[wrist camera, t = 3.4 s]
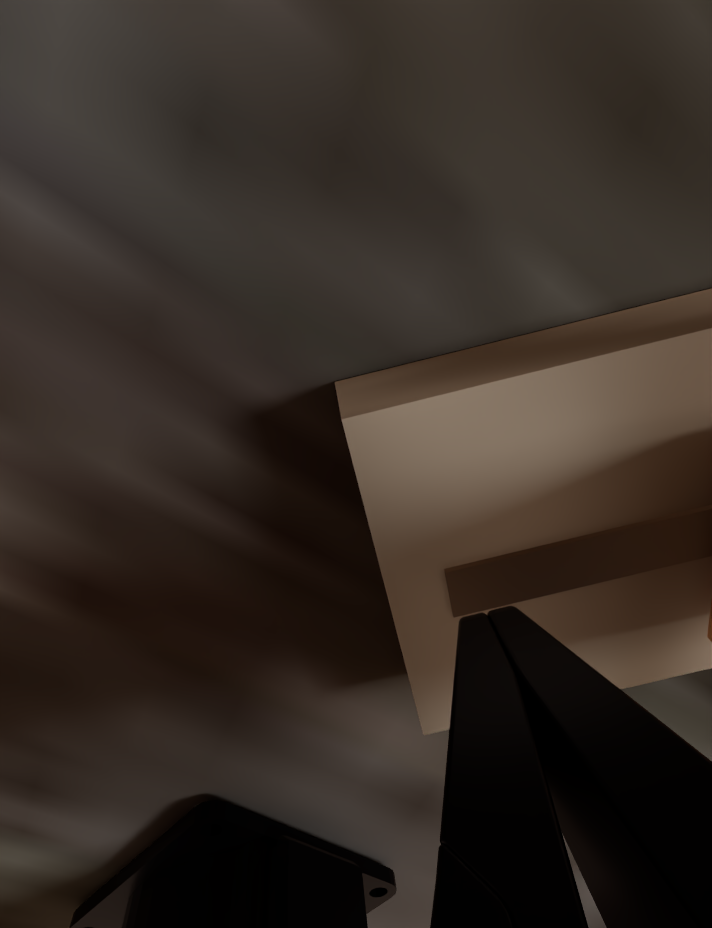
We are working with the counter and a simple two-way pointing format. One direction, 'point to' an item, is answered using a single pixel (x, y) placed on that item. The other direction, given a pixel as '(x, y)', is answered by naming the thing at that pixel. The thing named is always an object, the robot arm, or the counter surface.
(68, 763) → the counter surface
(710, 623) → the orange slider block
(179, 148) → the counter surface
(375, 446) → the bolt plate
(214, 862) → the robot arm
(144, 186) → the counter surface
